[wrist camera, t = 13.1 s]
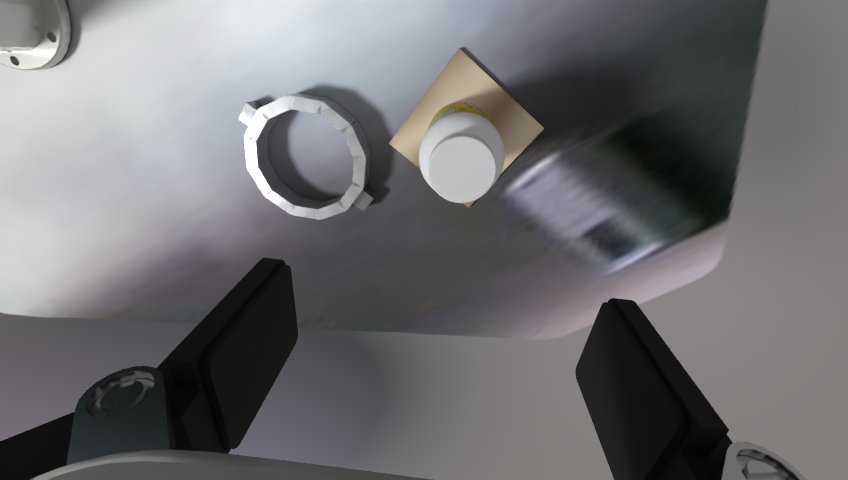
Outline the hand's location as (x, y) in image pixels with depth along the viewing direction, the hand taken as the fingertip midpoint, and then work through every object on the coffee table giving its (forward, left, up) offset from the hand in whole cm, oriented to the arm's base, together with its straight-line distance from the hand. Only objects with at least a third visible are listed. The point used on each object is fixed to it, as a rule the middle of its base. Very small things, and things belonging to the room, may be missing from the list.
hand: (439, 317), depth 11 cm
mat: (+1, +1, -28) cm, 28 cm away
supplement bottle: (+1, +1, -28) cm, 28 cm away
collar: (-10, -11, -28) cm, 32 cm away
